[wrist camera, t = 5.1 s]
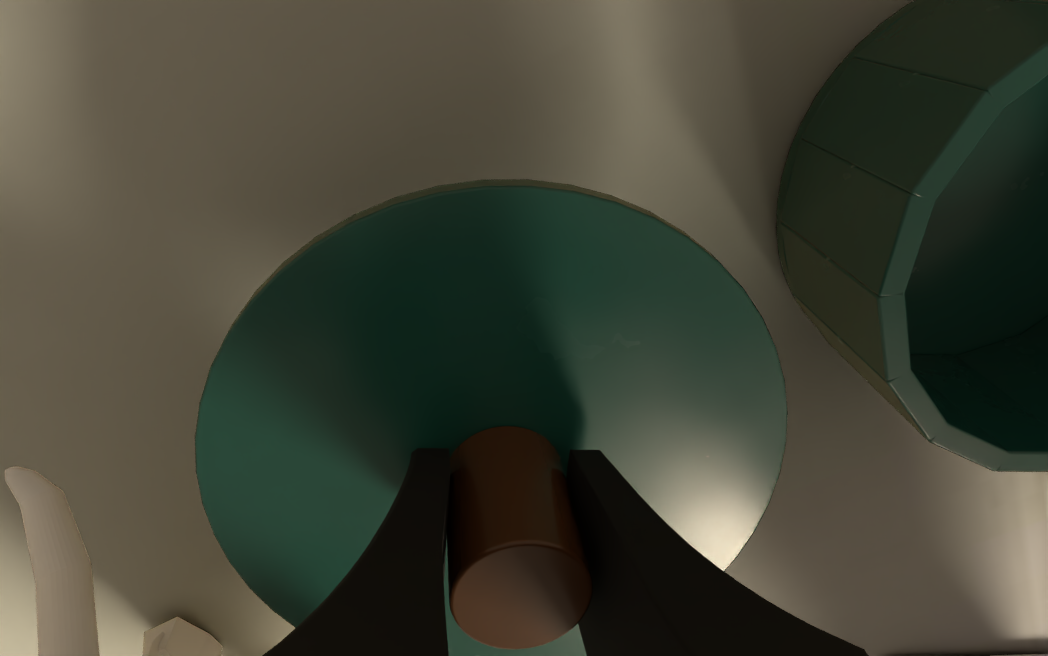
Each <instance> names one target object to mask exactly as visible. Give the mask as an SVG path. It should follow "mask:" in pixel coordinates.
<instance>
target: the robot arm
mask: <svg viewBox="0 0 1048 656" xmlns="http://www.w3.org/2000/svg"><path fill="white" fill-rule="evenodd" d="M450 471H451V467H450V456H449V448H417V449H416V450H414V451H413V452H412V453H411V459H410V463H409V467H408V470H407V473H406V475H405V478H404V480H403V483H402V485H401V487H400V490H399V492H398V494H397V496H396V498H395V500H394V502H393V504H392V506H391V508H390V510H389V512H388V513H387V515H386V517H385V519H384V520H383V522H382V524H381V525H380V527H379V529H378V530H377V532H376V533H375V535H374V537H373V538H372V540H371V542H370V543H369V545H368V546H367V548H366V549H365V550H364V552H363V553H362V555H361V556H360V558H359V559H358V560H357V562H356V563H355V564H354V566H353V567H352V568H351V569H350V571H349V572H348V573H347V575H346V576H345V577H344V578H343V579H342V581H341V582H340V583H339V584H338V585H337V586H336V587H335V589H334V590H333V591H332V592H331V593H330V594H329V596H328V597H327V598H326V599H325V600H324V601H323V602H322V603H321V604H320V605H319V606H318V607H317V608H316V609H315V610H314V611H313V612H312V613H311V614H310V615H309V616H308V617H307V618H306V619H305V620H304V621H303V622H302V623H301V624H299V625H298V626H297V627H296V628H295V629H294V630H293V631H292V632H291V633H290V634H289V635H288V636H287V637H285V638H284V639H283V640H282V641H281V642H280V643H278V644H277V645H276V646H274V647H273V648H272V649H271V650H269V651H268V652H267V653H265V654H264V655H263V656H449V652H448V640H447V627H446V612H445V596H444V575H445V557H446V540H447V520H448V505H449V488H450ZM566 482H567V486H568V489H569V493H570V497H571V501H572V504H573V508H574V512H575V516H576V520H577V523H578V527H579V531H580V535H581V538H582V542H583V546H584V550H585V554H586V557H587V561H588V565H589V569H590V572H591V576H592V580H593V594H592V598H591V602H590V605H589V607H588V610H587V611H586V613H585V615H584V616H583V618H582V619H581V620H580V621H579V623H578V626H579V629H580V633H581V637H582V640H583V644H584V648H585V651H586V655H587V656H868V654H867V653H866V651H865V650H864V649H862V648H860V647H858V646H855V645H853V644H851V643H849V642H847V641H844V640H842V639H840V638H838V637H836V636H834V635H831V634H829V633H827V632H825V631H823V630H820V629H818V628H816V627H814V626H812V625H810V624H808V623H806V622H805V621H803V620H801V619H799V618H797V617H795V616H793V615H792V614H790V613H788V612H786V611H784V610H782V609H781V608H779V607H777V606H776V605H774V604H772V603H771V602H769V601H767V600H765V599H764V598H762V597H761V596H759V595H758V594H756V593H755V592H753V591H752V590H750V589H748V588H747V587H745V586H744V585H742V584H741V583H739V582H738V581H736V580H735V579H734V578H732V577H731V576H729V575H728V574H727V573H725V572H724V571H722V570H721V569H720V568H719V567H717V566H716V565H715V564H713V563H712V562H711V561H710V560H708V559H707V558H706V557H704V556H703V555H702V554H701V553H699V552H698V551H697V550H696V549H695V548H693V547H692V546H691V545H690V544H689V543H688V542H686V541H685V540H684V539H683V538H682V537H681V536H680V535H679V534H678V533H677V532H676V531H675V530H673V529H672V528H671V527H670V526H669V525H668V524H667V523H666V522H665V521H664V520H663V519H662V518H661V517H660V516H659V515H658V514H657V513H656V512H655V511H654V510H653V509H652V508H651V507H650V506H649V505H648V504H647V503H646V501H645V500H644V499H643V498H642V497H641V496H640V495H639V494H638V493H637V492H636V491H635V489H634V488H633V487H632V486H631V485H630V484H629V483H628V482H627V480H626V479H625V478H624V477H623V476H622V475H621V474H620V472H619V471H618V470H617V469H616V468H615V467H614V465H613V464H612V463H611V462H610V461H609V460H608V458H607V457H606V456H605V455H604V454H603V453H602V452H601V451H600V450H571V449H570V453H569V460H568V467H567V475H566ZM992 656H1048V654H1025V655H992Z"/></svg>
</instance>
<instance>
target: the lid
mask: <svg viewBox="0 0 1048 656" xmlns="http://www.w3.org/2000/svg"><path fill="white" fill-rule="evenodd" d="M787 415H788V411H787V401H786V390H785V380H784V376H783V372H782V369H781V365H780V361H779V357H778V353H777V350H776V347H775V345H774V342H773V340H772V338H771V336H770V333H769V331H768V329H767V327H766V324H765V322H764V320H763V318H762V316H761V315H760V313H759V312H758V310H757V309H756V307H755V305H754V304H753V302H752V301H751V299H750V298H749V296H748V295H747V293H746V292H745V290H744V289H743V288H742V286H741V285H740V284H739V283H738V282H737V281H736V280H735V279H734V278H733V277H732V275H731V274H730V273H729V272H728V271H727V270H726V269H725V268H724V267H723V265H722V264H721V263H720V262H719V261H718V260H717V259H716V258H715V257H714V256H713V255H712V254H711V253H710V252H708V251H707V250H706V249H705V248H704V247H702V246H701V245H700V244H699V243H697V242H696V241H695V240H694V239H692V238H691V237H690V236H689V235H688V234H686V233H685V232H684V231H682V230H681V229H679V228H677V227H676V226H674V225H672V224H671V223H669V222H667V221H666V220H664V219H662V218H660V217H659V216H657V215H655V214H654V213H652V212H650V211H648V210H646V209H643V208H641V207H639V206H636V205H634V204H631V203H629V202H626V201H624V200H622V199H619V198H617V197H614V196H612V195H608V194H604V193H601V192H597V191H593V190H589V189H585V188H581V187H578V186H574V185H569V184H561V183H553V182H545V181H537V180H528V179H512V180H477V181H470V182H463V183H455V184H448V185H441V186H436V187H432V188H428V189H425V190H421V191H417V192H414V193H410V194H406V195H403V196H399V197H395V198H393V199H390V200H388V201H385V202H383V203H381V204H378V205H376V206H373V207H371V208H369V209H366V210H364V211H361V212H359V213H357V214H354V215H352V216H351V217H349V218H347V219H346V220H344V221H342V222H340V223H339V224H337V225H335V226H334V227H332V228H330V229H328V230H327V231H325V232H323V233H322V234H320V235H318V236H316V237H315V238H314V239H312V240H311V241H310V242H309V243H307V244H306V245H305V246H304V247H302V248H301V249H300V250H298V251H297V252H296V253H295V254H293V255H292V256H291V257H290V258H288V259H287V260H286V261H284V262H283V263H282V264H281V265H280V266H279V267H278V268H277V269H276V270H275V271H274V272H273V274H272V275H271V276H270V277H269V278H268V279H267V280H266V281H265V282H264V283H263V284H262V285H261V286H260V287H259V288H258V289H257V290H256V291H255V292H254V294H253V295H252V297H251V298H250V299H249V301H248V302H247V304H246V305H245V307H244V308H243V309H242V311H241V312H240V314H239V315H238V316H237V318H236V319H235V321H234V322H233V324H232V325H231V327H230V329H229V331H228V333H227V335H226V337H225V339H224V341H223V343H222V345H221V347H220V349H219V351H218V353H217V355H216V357H215V359H214V361H213V363H212V365H211V367H210V370H209V373H208V377H207V380H206V383H205V386H204V390H203V393H202V396H201V399H200V403H199V410H198V417H197V425H196V432H195V457H196V474H197V479H198V484H199V488H200V493H201V498H202V503H203V506H204V509H205V512H206V514H207V517H208V520H209V522H210V525H211V528H212V530H213V533H214V535H215V537H216V539H217V541H218V542H219V544H220V546H221V548H222V550H223V551H224V553H225V555H226V557H227V558H228V560H229V562H230V563H231V565H232V566H233V567H234V569H235V570H236V571H237V572H238V574H239V575H240V576H241V578H242V579H243V580H244V581H245V583H246V584H247V585H248V587H249V588H250V589H251V590H252V591H253V592H254V593H255V594H256V595H257V596H258V597H259V598H260V599H261V600H262V601H263V602H264V603H266V604H267V605H268V606H269V607H270V608H271V609H272V610H273V611H274V612H275V613H277V614H278V615H279V616H281V617H282V618H283V619H285V620H286V621H287V622H289V623H290V624H291V625H293V626H294V627H295V628H296V627H297V626H298V625H299V624H301V623H302V622H303V621H304V620H305V619H306V618H307V617H308V616H309V615H310V614H311V613H312V612H313V611H314V610H315V609H316V608H317V607H318V606H319V605H320V604H321V603H322V602H323V601H324V600H325V599H326V598H327V597H328V596H329V594H330V593H331V592H332V591H333V590H334V589H335V587H336V586H337V585H338V584H339V583H340V582H341V581H342V579H343V578H344V577H345V576H346V575H347V573H348V572H349V571H350V569H351V568H352V567H353V566H354V564H355V563H356V562H357V560H358V559H359V558H360V556H361V555H362V553H363V552H364V550H365V549H366V548H367V546H368V545H369V543H370V542H371V540H372V538H373V537H374V535H375V533H376V532H377V530H378V529H379V527H380V525H381V524H382V522H383V520H384V519H385V517H386V515H387V513H388V512H389V510H390V508H391V506H392V504H393V502H394V500H395V498H396V496H397V494H398V492H399V490H400V487H401V485H402V483H403V480H404V478H405V475H406V473H407V470H408V467H409V463H410V459H411V453H412V452H413V451H414V450H416V449H417V448H449V456H450V467H451V471H450V488H449V505H448V520H447V540H446V557H445V575H444V596H445V612H446V627H447V640H448V652H449V656H587V655H586V651H585V648H584V644H583V640H582V637H581V633H580V629H579V626H578V623H579V621H580V620H581V619H582V618H583V616H584V615H585V613H586V611H587V610H588V607H589V605H590V602H591V598H592V594H593V580H592V576H591V572H590V569H589V565H588V561H587V557H586V554H585V550H584V546H583V542H582V538H581V535H580V531H579V527H578V523H577V520H576V516H575V512H574V508H573V504H572V501H571V497H570V493H569V489H568V486H567V482H566V475H567V467H568V460H569V453H570V449H571V450H600V451H601V452H602V453H603V454H604V455H605V456H606V457H607V458H608V460H609V461H610V462H611V463H612V464H613V465H614V467H615V468H616V469H617V470H618V471H619V472H620V474H621V475H622V476H623V477H624V478H625V479H626V480H627V482H628V483H629V484H630V485H631V486H632V487H633V488H634V489H635V491H636V492H637V493H638V494H639V495H640V496H641V497H642V498H643V499H644V500H645V501H646V503H647V504H648V505H649V506H650V507H651V508H652V509H653V510H654V511H655V512H656V513H657V514H658V515H659V516H660V517H661V518H662V519H663V520H664V521H665V522H666V523H667V524H668V525H669V526H670V527H671V528H672V529H673V530H675V531H676V532H677V533H678V534H679V535H680V536H681V537H682V538H683V539H684V540H685V541H686V542H688V543H689V544H690V545H691V546H692V547H693V548H695V549H696V550H697V551H698V552H699V553H701V554H702V555H703V556H704V557H706V558H707V559H708V560H710V561H711V562H712V563H713V564H715V565H716V566H717V567H719V568H720V569H721V570H722V571H725V570H726V569H727V568H728V567H729V565H730V564H731V563H732V562H733V561H734V560H735V558H736V557H737V556H738V555H739V553H740V552H741V550H742V549H743V547H744V546H745V544H746V543H747V542H748V540H749V539H750V537H751V536H752V534H753V533H754V531H755V530H756V528H757V526H758V524H759V522H760V520H761V518H762V516H763V514H764V512H765V510H766V508H767V506H768V504H769V502H770V499H771V497H772V494H773V491H774V488H775V485H776V483H777V480H778V477H779V474H780V470H781V465H782V460H783V455H784V450H785V445H786V432H787Z"/></svg>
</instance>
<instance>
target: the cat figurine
mask: <svg viewBox="0 0 1048 656" xmlns="http://www.w3.org/2000/svg"><path fill="white" fill-rule="evenodd" d="M5 482H6V483H7V485H8V487H9V488H10V490H11V492H12V493H13V495H14V497H15V498H16V500H17V502H18V504H19V505H20V509H21V514H22V519H23V524H24V529H25V534H26V539H27V544H28V548H29V553H30V558H31V563H32V568H33V573H34V578H35V583H36V604H37V630H38V655H39V656H100V655H99V644H98V632H97V621H96V610H95V598H94V587H93V576H92V564H91V561H90V558H89V556H88V553H87V551H86V548H85V546H84V543H83V540H82V538H81V535H80V533H79V530H78V528H77V525H76V522H75V520H74V517H73V515H72V512H71V510H70V507H69V504H68V502H67V499H66V497H65V494H64V492H63V491H62V490H61V489H60V488H58V487H57V486H56V485H54V484H53V483H51V482H50V481H49V480H47V479H46V478H45V477H43V476H42V475H41V474H39V473H38V472H36V471H35V470H31V469H26V468H22V467H18V466H15V467H10V468H8V469H6V470H5ZM222 649H223V646H222V645H221V644H220V643H219V642H218V641H217V640H216V639H215V638H214V637H213V636H212V635H210V634H209V633H207V632H205V631H203V630H201V629H200V628H198V627H196V626H194V625H192V624H190V623H188V622H186V621H185V620H183V619H181V618H179V617H175V618H173V619H171V620H169V621H167V622H165V623H163V624H160V625H158V626H156V627H154V628H152V629H150V630H148V631H146V632H144V643H143V655H142V656H221V653H222Z"/></svg>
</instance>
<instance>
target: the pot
mask: <svg viewBox="0 0 1048 656" xmlns="http://www.w3.org/2000/svg"><path fill="white" fill-rule="evenodd" d="M776 230H777V241H778V252H779V256H780V260H781V264H782V268H783V272H784V275H785V278H786V280H787V283H788V285H789V288H790V290H791V292H792V295H793V296H794V298H795V299H796V301H797V303H798V304H799V306H800V308H801V309H802V311H803V312H804V313H805V315H806V316H807V317H808V318H809V319H810V320H811V321H812V323H813V324H814V325H815V326H816V327H817V328H818V330H819V331H820V332H821V334H822V335H823V336H824V338H825V339H826V340H827V342H828V343H829V344H830V345H831V346H832V347H833V348H834V349H835V350H836V351H837V352H838V353H839V354H840V355H841V356H842V357H843V358H844V359H845V360H846V361H847V362H848V363H849V364H850V365H851V366H852V367H853V368H854V369H855V370H856V371H857V372H858V373H859V374H860V375H861V376H862V377H863V378H864V379H865V380H866V381H867V382H868V383H870V384H871V385H872V386H873V387H874V388H875V389H876V390H877V391H878V392H879V393H880V394H881V395H882V396H883V397H884V398H885V399H886V400H887V401H888V402H889V403H890V404H891V405H892V406H893V407H894V408H895V409H896V410H897V411H898V412H899V413H900V414H901V415H902V416H903V417H904V418H905V419H906V420H907V421H908V422H909V423H910V424H911V425H912V426H913V427H914V428H915V429H916V430H917V431H918V432H919V433H920V434H921V435H922V436H923V437H924V438H925V439H927V440H928V441H929V442H930V443H932V444H935V445H937V446H939V447H941V448H943V449H946V450H948V451H950V452H952V453H954V454H957V455H959V456H961V457H963V458H966V459H968V460H970V461H972V462H974V463H977V464H979V465H981V466H983V467H985V468H988V469H990V470H992V471H998V472H1048V0H915V1H913V2H911V3H909V4H908V5H906V6H905V7H903V8H902V9H901V10H899V11H898V12H897V13H895V14H894V15H892V16H891V17H890V18H888V19H887V20H885V21H884V22H883V23H881V24H880V25H879V26H878V27H877V28H876V29H875V30H873V31H872V32H871V33H870V34H869V35H868V36H867V37H866V38H865V39H863V40H862V41H861V42H860V43H859V44H858V45H857V46H856V47H855V48H854V49H853V50H852V51H851V53H850V54H849V55H848V56H847V57H846V58H845V59H844V60H843V62H842V63H841V64H840V65H839V66H838V67H837V68H836V69H835V71H834V72H833V73H832V75H831V76H830V78H829V79H828V80H827V82H826V83H825V85H824V86H823V87H822V89H821V90H820V91H819V93H818V94H817V96H816V98H815V99H814V101H813V103H812V105H811V106H810V108H809V110H808V112H807V113H806V115H805V117H804V119H803V120H802V122H801V125H800V127H799V129H798V132H797V134H796V136H795V139H794V141H793V143H792V146H791V148H790V151H789V154H788V157H787V161H786V164H785V167H784V171H783V174H782V179H781V184H780V190H779V196H778V202H777V223H776Z"/></svg>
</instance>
